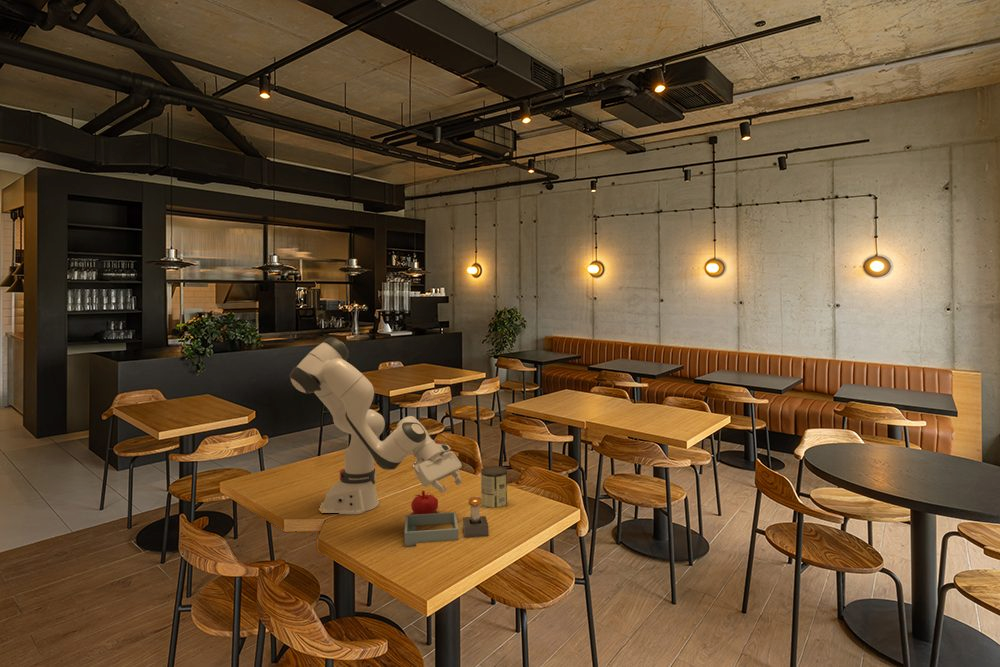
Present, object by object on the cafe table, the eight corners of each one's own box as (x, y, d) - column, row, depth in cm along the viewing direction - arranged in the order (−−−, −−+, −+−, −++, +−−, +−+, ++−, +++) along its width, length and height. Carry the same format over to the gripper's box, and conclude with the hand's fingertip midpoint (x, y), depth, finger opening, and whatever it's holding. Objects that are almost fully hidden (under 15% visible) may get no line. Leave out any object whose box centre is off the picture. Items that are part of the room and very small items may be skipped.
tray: (404, 546, 175) (404, 532, 175) (405, 527, 189) (405, 515, 189) (458, 542, 177) (458, 529, 177) (455, 524, 192) (455, 512, 192)
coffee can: (488, 498, 217) (487, 464, 216) (511, 502, 212) (511, 467, 211) (476, 507, 207) (476, 471, 206) (500, 511, 203) (500, 475, 202)
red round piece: (437, 520, 196) (437, 495, 195) (410, 520, 196) (409, 495, 195) (438, 508, 206) (438, 485, 205) (412, 509, 205) (412, 485, 205)
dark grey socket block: (464, 540, 179) (464, 527, 179) (462, 530, 187) (462, 517, 187) (488, 538, 180) (488, 525, 180) (485, 528, 188) (485, 516, 188)
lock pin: (469, 534, 181) (469, 502, 180) (468, 529, 185) (467, 497, 185) (482, 533, 182) (482, 501, 181) (481, 528, 186) (480, 496, 185)
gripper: (415, 458, 181) (439, 491, 176) (451, 444, 198) (473, 474, 194) (405, 469, 183) (428, 502, 179) (441, 454, 201) (463, 484, 196)
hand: (452, 487), depth 186 cm, fingers open, 8 cm apart
